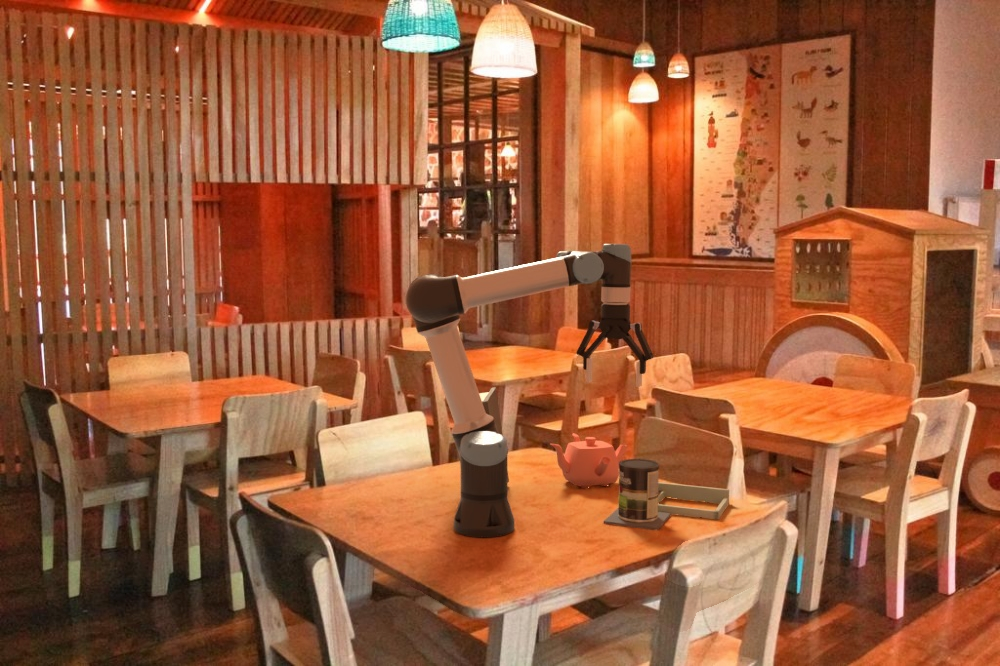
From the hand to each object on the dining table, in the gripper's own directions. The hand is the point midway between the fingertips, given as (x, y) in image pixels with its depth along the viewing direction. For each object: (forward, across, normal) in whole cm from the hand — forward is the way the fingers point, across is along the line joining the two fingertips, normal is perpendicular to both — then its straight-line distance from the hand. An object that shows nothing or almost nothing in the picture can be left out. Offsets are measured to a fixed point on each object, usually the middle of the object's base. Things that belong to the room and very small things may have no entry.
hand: (613, 384), depth 250 cm
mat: (+34, -9, +4) cm, 35 cm away
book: (+34, +36, 0) cm, 49 cm away
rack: (+34, -14, -12) cm, 38 cm away
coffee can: (+33, -9, +4) cm, 35 cm away
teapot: (+34, +15, -24) cm, 44 cm away
